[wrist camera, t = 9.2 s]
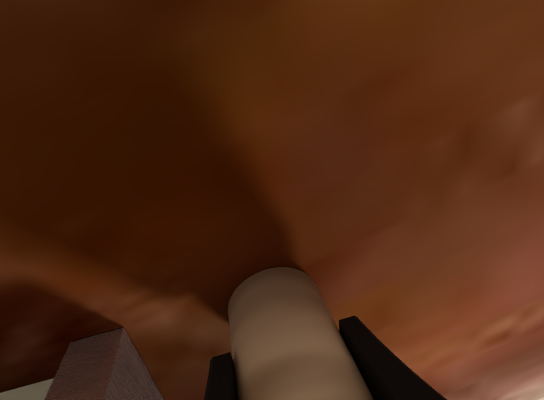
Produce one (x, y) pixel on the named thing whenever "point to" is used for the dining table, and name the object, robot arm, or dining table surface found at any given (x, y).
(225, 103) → the dining table surface
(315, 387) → the dowel
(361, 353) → the robot arm
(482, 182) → the dining table surface
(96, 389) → the rail
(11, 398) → the socket block
